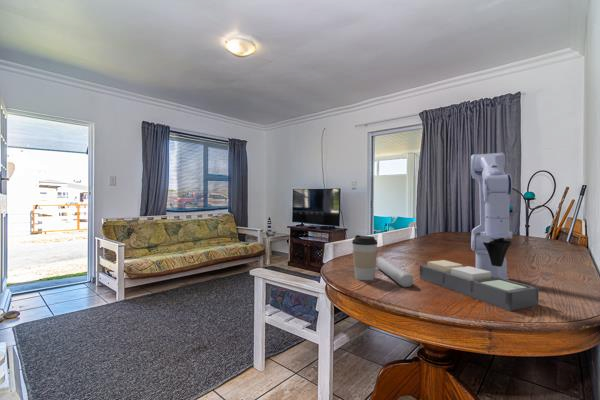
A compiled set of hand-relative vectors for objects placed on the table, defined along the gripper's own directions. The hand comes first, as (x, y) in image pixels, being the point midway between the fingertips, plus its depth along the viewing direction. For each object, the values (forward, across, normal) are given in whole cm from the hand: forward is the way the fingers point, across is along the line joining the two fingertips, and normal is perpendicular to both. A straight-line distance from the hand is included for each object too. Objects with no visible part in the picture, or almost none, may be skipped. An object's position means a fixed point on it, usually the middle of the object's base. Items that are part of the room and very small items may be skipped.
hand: (496, 265), depth 81 cm
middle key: (+5, -2, -8) cm, 10 cm away
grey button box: (+9, -2, -8) cm, 12 cm away
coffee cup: (+10, +15, -36) cm, 40 cm away
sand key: (+6, -4, -18) cm, 19 cm away
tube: (+10, +7, -30) cm, 33 cm away
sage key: (+7, 0, +2) cm, 8 cm away
